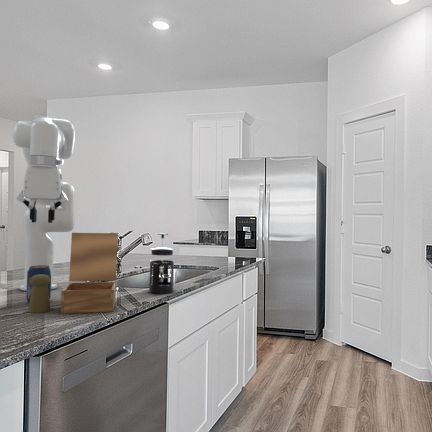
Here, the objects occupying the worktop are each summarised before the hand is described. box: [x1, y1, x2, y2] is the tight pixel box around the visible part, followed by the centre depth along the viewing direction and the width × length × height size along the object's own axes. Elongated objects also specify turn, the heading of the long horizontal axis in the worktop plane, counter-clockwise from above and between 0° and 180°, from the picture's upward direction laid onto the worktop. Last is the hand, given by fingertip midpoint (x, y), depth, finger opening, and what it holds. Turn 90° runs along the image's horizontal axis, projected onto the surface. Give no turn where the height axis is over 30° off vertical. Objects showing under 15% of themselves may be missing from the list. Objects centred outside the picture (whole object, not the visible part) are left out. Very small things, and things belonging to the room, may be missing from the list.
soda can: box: [26, 265, 52, 304], centre depth 143 cm, size 7×7×12 cm
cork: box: [27, 274, 52, 314], centre depth 132 cm, size 6×6×11 cm
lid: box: [68, 232, 119, 282], centre depth 147 cm, size 16×15×1 cm
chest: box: [60, 281, 117, 315], centre depth 138 cm, size 16×15×7 cm
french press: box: [148, 232, 175, 295], centre depth 167 cm, size 12×9×23 cm
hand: (42, 221), depth 132 cm, fingers open, 3 cm apart
